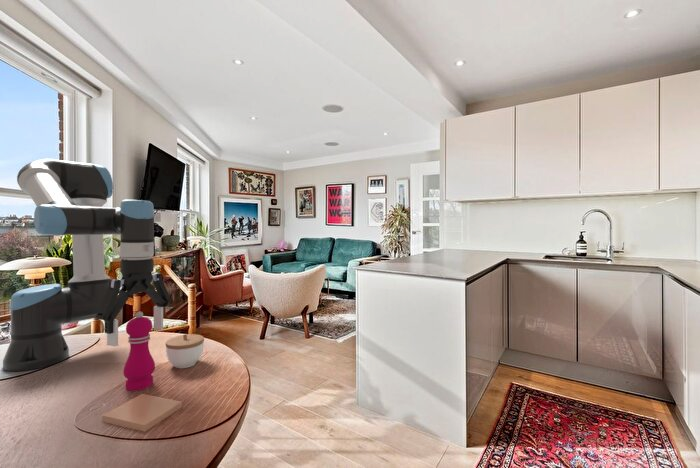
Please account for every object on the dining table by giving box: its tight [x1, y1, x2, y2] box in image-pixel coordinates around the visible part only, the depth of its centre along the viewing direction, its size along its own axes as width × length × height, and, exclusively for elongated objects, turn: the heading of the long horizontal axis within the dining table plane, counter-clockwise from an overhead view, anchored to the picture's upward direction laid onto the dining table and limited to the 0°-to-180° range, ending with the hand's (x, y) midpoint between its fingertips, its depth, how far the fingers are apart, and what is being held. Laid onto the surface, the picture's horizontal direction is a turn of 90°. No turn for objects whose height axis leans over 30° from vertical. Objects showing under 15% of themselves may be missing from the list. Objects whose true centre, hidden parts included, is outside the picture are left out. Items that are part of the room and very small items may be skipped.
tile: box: [101, 393, 183, 433], centre depth 77 cm, size 2×10×12 cm
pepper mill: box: [122, 310, 156, 392], centre depth 90 cm, size 7×7×20 cm
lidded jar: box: [165, 333, 205, 369], centre depth 104 cm, size 11×11×9 cm
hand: (137, 336), depth 91 cm, fingers open, 13 cm apart
